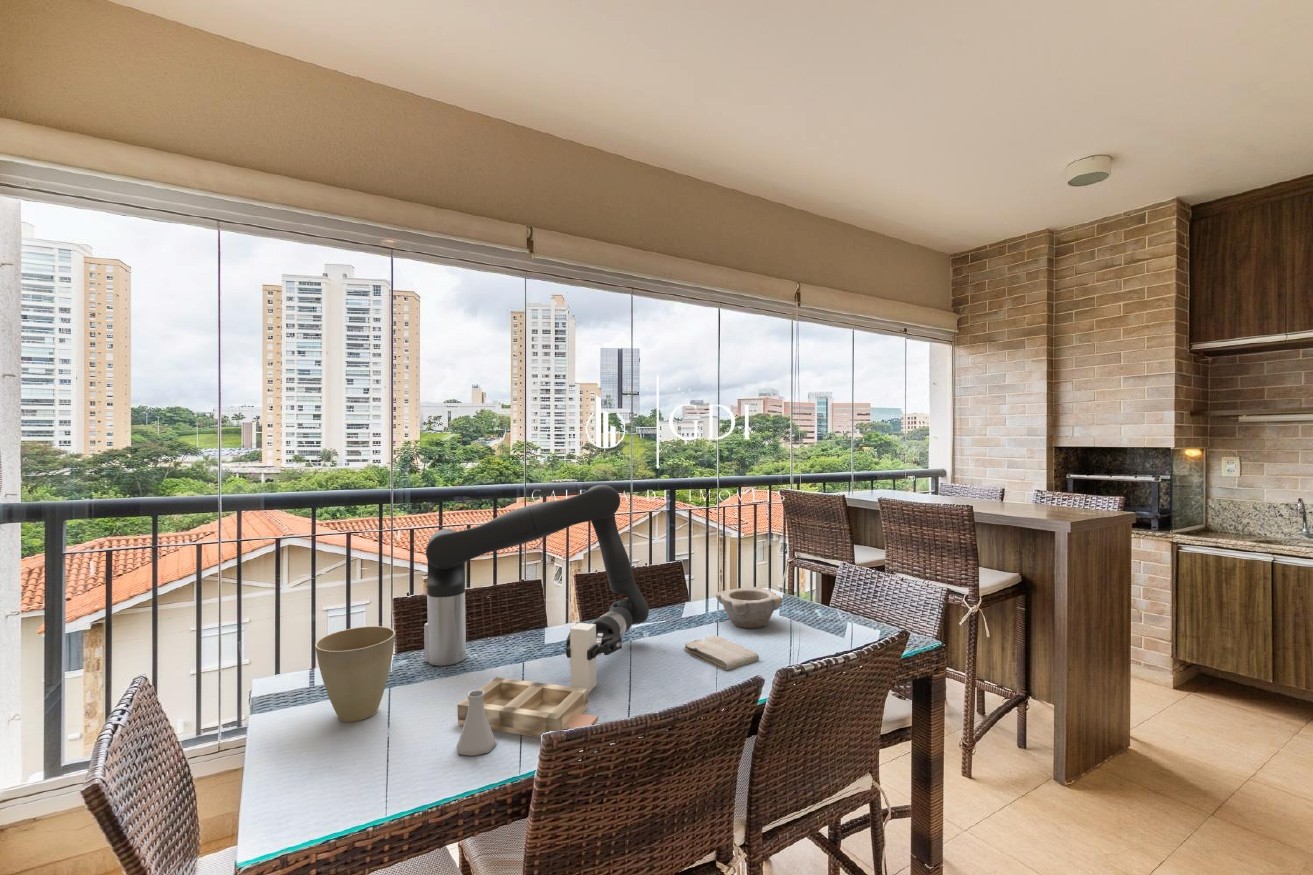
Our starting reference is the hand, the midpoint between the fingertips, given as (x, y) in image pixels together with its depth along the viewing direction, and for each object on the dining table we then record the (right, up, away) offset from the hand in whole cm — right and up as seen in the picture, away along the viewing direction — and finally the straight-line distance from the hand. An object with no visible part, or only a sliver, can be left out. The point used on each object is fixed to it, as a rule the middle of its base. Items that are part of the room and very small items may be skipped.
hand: (578, 654), depth 134 cm
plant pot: (-45, -9, -9) cm, 47 cm away
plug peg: (+1, -8, +3) cm, 9 cm away
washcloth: (+34, -9, +22) cm, 41 cm away
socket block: (-8, -9, -11) cm, 16 cm away
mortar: (+45, -8, +47) cm, 66 cm away
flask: (-16, -9, -23) cm, 29 cm away
